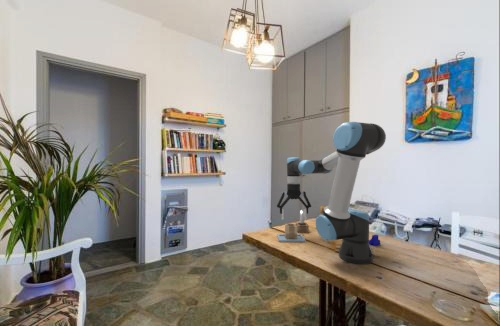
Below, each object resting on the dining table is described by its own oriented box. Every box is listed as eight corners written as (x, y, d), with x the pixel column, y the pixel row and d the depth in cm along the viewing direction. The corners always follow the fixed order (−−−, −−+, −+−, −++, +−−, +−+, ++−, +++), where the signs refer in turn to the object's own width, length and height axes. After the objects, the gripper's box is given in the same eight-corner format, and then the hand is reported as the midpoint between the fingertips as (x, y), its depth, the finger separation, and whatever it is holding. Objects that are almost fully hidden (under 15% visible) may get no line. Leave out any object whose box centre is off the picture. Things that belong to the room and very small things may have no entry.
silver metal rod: (304, 232, 156) (304, 210, 156) (300, 232, 156) (300, 210, 156) (303, 231, 159) (303, 209, 159) (299, 231, 159) (299, 209, 159)
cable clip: (380, 245, 132) (380, 234, 132) (374, 247, 130) (374, 236, 130) (361, 239, 143) (361, 229, 143) (356, 240, 141) (356, 230, 141)
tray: (305, 242, 137) (305, 240, 137) (279, 242, 137) (279, 240, 137) (301, 236, 148) (301, 234, 148) (277, 236, 148) (277, 234, 148)
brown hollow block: (308, 233, 154) (308, 225, 154) (297, 233, 154) (297, 225, 154) (305, 230, 161) (306, 222, 161) (295, 230, 161) (295, 222, 161)
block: (296, 240, 139) (297, 226, 139) (286, 240, 139) (286, 226, 139) (294, 236, 145) (295, 223, 145) (285, 236, 145) (285, 223, 145)
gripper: (312, 182, 147) (313, 217, 146) (272, 183, 146) (272, 218, 146) (316, 183, 139) (316, 220, 139) (273, 184, 139) (273, 220, 138)
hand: (294, 219), depth 142 cm, fingers open, 13 cm apart
